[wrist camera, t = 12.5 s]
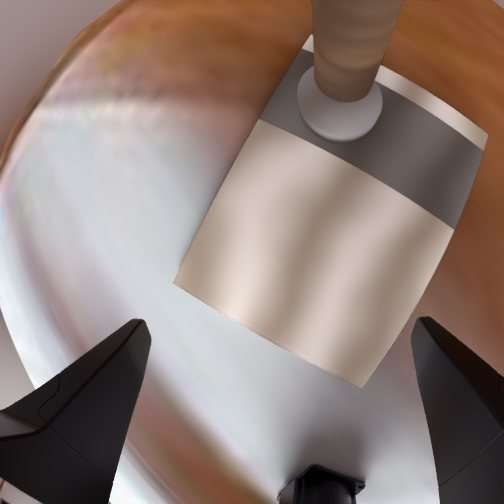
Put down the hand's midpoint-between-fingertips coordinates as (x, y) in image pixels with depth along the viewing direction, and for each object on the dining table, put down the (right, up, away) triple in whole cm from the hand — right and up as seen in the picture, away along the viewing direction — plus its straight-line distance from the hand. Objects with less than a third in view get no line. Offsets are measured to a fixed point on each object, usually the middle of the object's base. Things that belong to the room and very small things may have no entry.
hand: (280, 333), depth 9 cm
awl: (+5, +13, +10) cm, 17 cm away
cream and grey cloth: (+6, +6, +11) cm, 14 cm away
